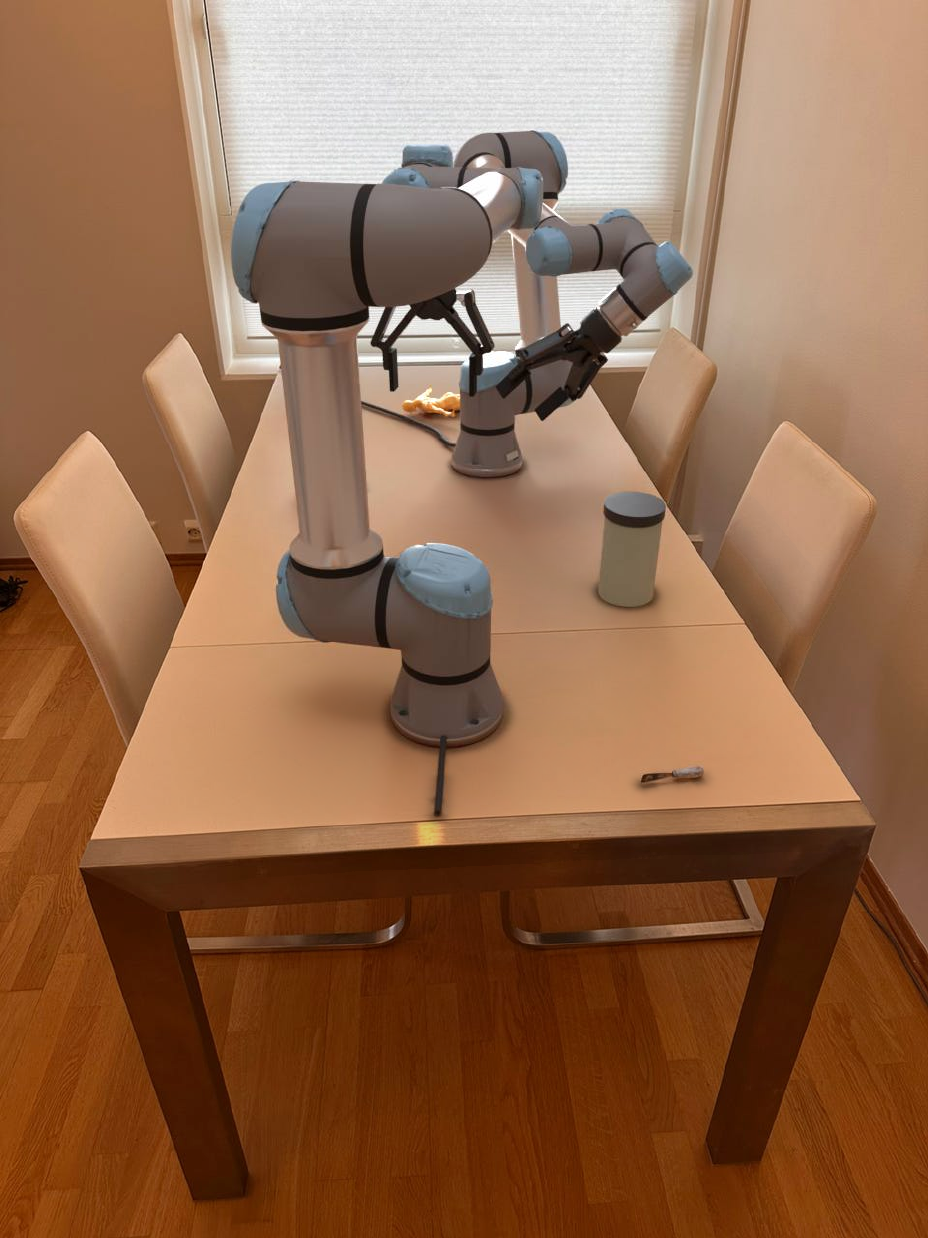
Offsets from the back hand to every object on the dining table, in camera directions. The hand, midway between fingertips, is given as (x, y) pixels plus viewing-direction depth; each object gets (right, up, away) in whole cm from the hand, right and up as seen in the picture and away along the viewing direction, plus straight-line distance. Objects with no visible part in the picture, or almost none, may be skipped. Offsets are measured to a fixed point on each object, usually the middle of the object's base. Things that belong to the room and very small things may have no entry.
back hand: (519, 404), depth 163 cm
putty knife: (+15, -59, -53) cm, 81 cm away
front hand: (-15, -1, -13) cm, 20 cm away
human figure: (-13, +14, +63) cm, 66 cm away
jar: (+17, -35, -15) cm, 41 cm away
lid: (+17, -21, -23) cm, 36 cm away
